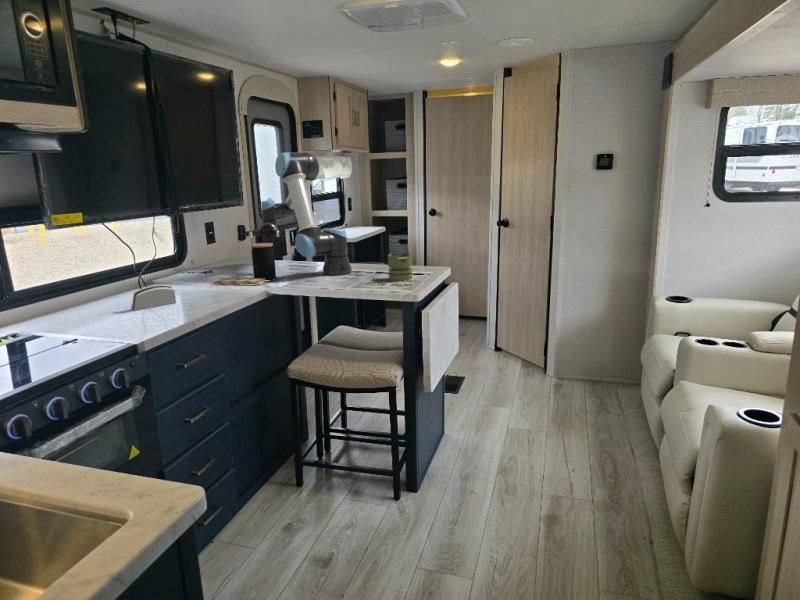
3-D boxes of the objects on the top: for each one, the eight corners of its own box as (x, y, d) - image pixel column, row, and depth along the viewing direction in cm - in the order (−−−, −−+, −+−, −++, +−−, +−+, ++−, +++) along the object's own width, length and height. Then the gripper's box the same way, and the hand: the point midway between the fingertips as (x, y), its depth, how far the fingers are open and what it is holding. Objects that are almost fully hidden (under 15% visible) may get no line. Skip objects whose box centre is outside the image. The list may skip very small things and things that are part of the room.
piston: (385, 253, 257) (407, 252, 260) (386, 278, 259) (407, 275, 263) (391, 256, 246) (414, 255, 249) (392, 282, 249) (415, 279, 252)
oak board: (265, 282, 258) (264, 278, 258) (258, 285, 252) (258, 280, 251) (220, 281, 263) (220, 277, 263) (213, 284, 257) (212, 280, 256)
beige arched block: (171, 301, 224) (172, 280, 220) (176, 306, 221) (177, 285, 217) (130, 309, 213) (129, 287, 208) (134, 314, 210) (134, 292, 206)
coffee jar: (279, 277, 269) (276, 242, 265) (272, 281, 259) (268, 245, 255) (258, 278, 270) (255, 242, 266) (251, 282, 260) (247, 245, 256)
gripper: (291, 236, 292) (289, 241, 271) (245, 238, 289) (239, 243, 268) (290, 222, 290) (288, 226, 270) (244, 224, 287) (237, 228, 267)
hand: (263, 234), depth 269 cm, fingers open, 13 cm apart
